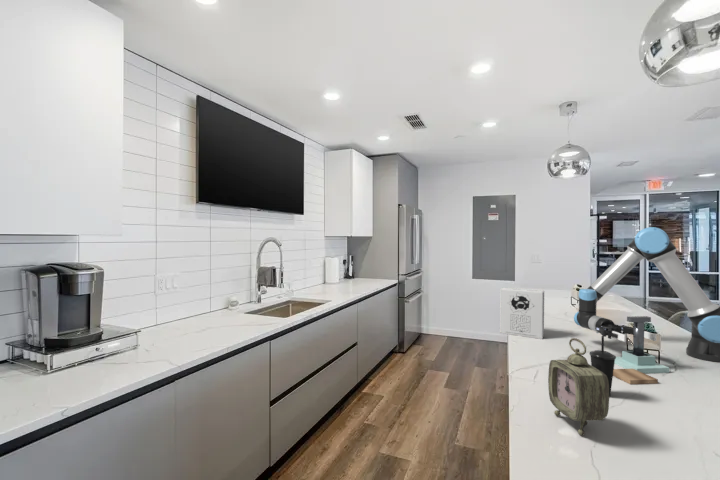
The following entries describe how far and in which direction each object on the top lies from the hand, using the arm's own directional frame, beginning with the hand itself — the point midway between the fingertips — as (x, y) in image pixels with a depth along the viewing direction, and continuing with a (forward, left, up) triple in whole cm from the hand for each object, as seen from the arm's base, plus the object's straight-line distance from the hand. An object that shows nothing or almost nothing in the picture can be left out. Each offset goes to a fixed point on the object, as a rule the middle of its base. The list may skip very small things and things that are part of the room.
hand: (640, 338), depth 150 cm
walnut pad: (+13, +10, -12) cm, 20 cm away
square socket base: (0, -1, -12) cm, 12 cm away
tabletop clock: (+58, +41, -13) cm, 72 cm away
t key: (0, -1, -10) cm, 10 cm away
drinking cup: (+35, +22, -13) cm, 43 cm away
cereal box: (+22, -53, -13) cm, 58 cm away
